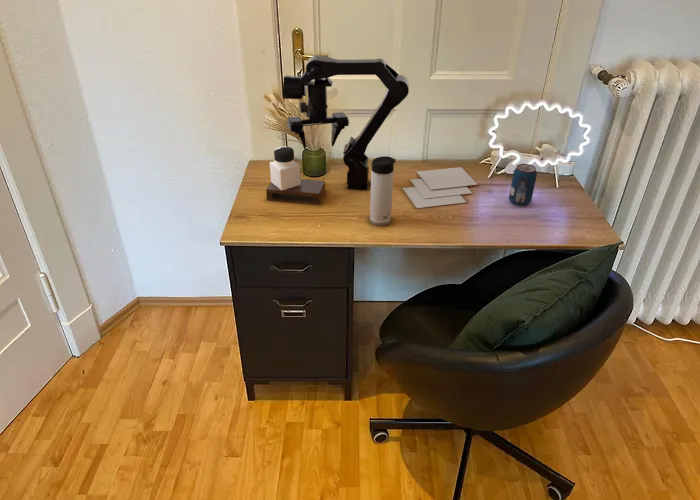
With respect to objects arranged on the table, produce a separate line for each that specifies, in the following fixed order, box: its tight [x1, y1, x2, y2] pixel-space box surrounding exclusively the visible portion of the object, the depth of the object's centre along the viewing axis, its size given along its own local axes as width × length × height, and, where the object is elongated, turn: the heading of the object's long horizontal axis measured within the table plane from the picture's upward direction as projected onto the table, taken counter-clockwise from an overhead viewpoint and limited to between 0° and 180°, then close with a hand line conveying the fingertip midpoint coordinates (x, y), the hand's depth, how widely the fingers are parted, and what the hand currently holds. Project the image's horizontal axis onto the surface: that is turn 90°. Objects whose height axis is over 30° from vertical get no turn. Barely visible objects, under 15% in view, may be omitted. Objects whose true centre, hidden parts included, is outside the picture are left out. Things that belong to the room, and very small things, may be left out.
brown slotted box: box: [265, 178, 326, 206], centre depth 173 cm, size 17×9×4 cm, turn 81°
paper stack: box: [402, 166, 479, 209], centre depth 179 cm, size 23×25×1 cm
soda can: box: [508, 163, 538, 208], centre depth 168 cm, size 7×7×12 cm
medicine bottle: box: [269, 145, 302, 190], centre depth 169 cm, size 7×7×12 cm
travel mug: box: [369, 155, 396, 227], centre depth 156 cm, size 6×7×20 cm
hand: (318, 147), depth 174 cm, fingers open, 9 cm apart
